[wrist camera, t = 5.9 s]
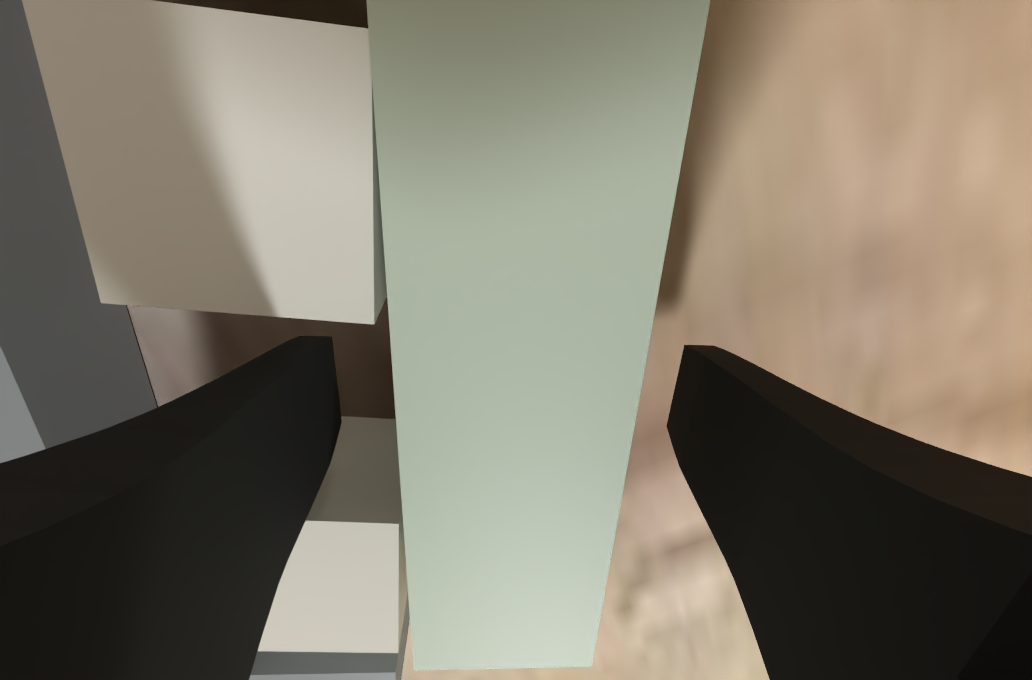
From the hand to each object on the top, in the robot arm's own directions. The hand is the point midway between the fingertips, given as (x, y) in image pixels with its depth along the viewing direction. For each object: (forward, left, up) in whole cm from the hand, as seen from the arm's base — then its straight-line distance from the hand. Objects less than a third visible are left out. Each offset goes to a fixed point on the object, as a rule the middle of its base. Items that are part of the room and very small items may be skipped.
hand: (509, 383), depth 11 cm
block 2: (+4, +4, -2) cm, 6 cm away
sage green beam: (0, -1, -2) cm, 2 cm away
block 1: (+4, -4, -2) cm, 6 cm away
